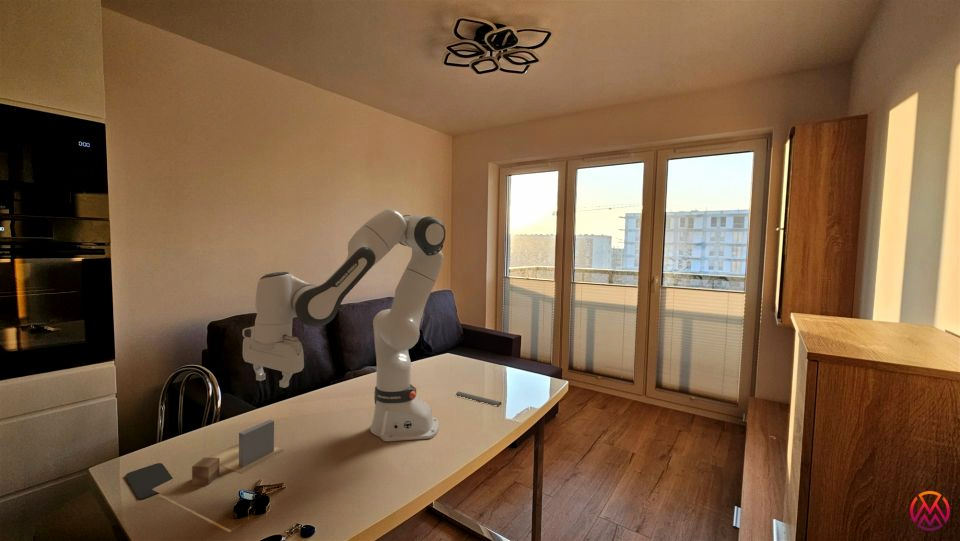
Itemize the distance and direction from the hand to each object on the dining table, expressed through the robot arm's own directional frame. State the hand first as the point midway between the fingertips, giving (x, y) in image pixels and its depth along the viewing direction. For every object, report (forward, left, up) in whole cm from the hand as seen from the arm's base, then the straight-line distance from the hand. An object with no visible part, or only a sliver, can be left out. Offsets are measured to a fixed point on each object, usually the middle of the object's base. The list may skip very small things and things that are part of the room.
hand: (272, 383), depth 102 cm
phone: (+25, +9, -23) cm, 35 cm away
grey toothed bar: (-57, -49, -23) cm, 79 cm away
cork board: (+9, -4, -22) cm, 24 cm away
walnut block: (+12, +8, -23) cm, 27 cm away
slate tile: (+5, -2, -22) cm, 23 cm away
